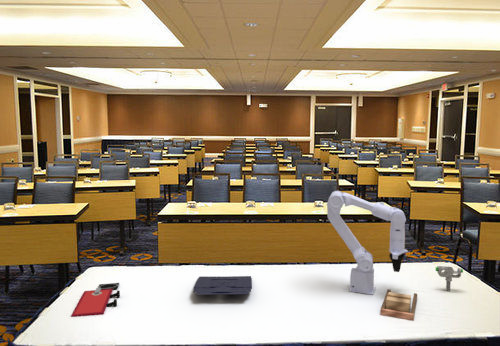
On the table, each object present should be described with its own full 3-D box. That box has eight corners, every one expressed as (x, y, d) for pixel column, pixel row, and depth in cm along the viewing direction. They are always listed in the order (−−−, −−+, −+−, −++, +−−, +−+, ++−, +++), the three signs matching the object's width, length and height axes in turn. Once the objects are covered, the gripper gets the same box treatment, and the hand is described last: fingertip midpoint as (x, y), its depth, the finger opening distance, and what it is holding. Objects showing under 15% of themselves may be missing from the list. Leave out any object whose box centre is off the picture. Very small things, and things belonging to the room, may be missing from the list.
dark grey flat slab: (190, 301, 164) (190, 292, 164) (198, 282, 194) (198, 274, 194) (252, 301, 164) (252, 291, 164) (251, 282, 194) (251, 274, 194)
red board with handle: (124, 284, 186) (88, 287, 183) (123, 278, 185) (87, 281, 183) (114, 315, 156) (71, 319, 154) (113, 308, 156) (70, 311, 153)
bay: (380, 314, 155) (380, 309, 154) (387, 293, 174) (387, 289, 173) (413, 320, 150) (413, 315, 150) (417, 298, 169) (417, 293, 169)
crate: (385, 312, 156) (386, 298, 155) (388, 304, 163) (388, 290, 162) (409, 316, 152) (409, 302, 152) (410, 308, 160) (411, 294, 159)
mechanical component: (462, 292, 174) (463, 269, 173) (435, 291, 176) (436, 267, 175) (460, 290, 177) (461, 267, 176) (434, 288, 179) (435, 265, 178)
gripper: (406, 244, 164) (405, 278, 165) (409, 235, 177) (408, 267, 178) (387, 242, 166) (386, 276, 168) (391, 234, 180) (390, 265, 181)
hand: (396, 271), depth 173 cm, fingers closed
